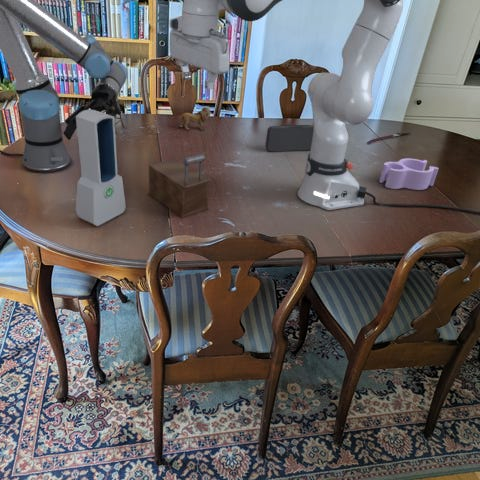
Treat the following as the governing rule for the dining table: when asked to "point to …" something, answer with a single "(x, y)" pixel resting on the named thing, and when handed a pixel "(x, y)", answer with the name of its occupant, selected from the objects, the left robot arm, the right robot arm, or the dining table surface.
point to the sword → (386, 137)
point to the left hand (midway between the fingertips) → (84, 132)
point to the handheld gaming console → (289, 137)
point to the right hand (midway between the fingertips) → (197, 83)
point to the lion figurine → (195, 118)
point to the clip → (408, 174)
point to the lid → (182, 172)
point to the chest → (178, 195)
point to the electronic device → (98, 169)
